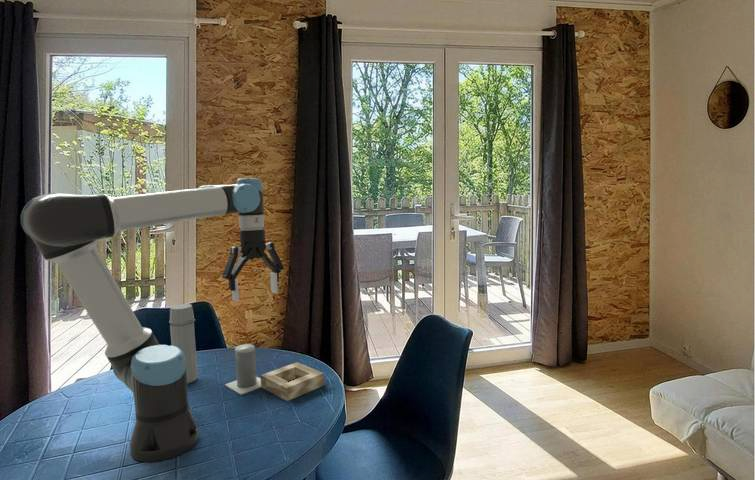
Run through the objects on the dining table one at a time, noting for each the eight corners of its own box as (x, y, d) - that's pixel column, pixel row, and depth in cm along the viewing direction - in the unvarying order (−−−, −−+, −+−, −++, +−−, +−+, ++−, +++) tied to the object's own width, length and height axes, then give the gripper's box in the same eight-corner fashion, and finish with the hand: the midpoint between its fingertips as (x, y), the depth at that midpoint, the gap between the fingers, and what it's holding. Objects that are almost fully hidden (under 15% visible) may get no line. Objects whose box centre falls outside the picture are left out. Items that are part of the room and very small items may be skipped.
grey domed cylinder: (243, 389, 137) (240, 352, 136) (233, 384, 141) (231, 347, 140) (260, 383, 142) (258, 347, 140) (250, 378, 146) (248, 342, 144)
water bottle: (193, 385, 142) (187, 309, 139) (169, 385, 142) (163, 309, 140) (204, 373, 151) (199, 302, 148) (182, 373, 151) (176, 302, 149)
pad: (240, 395, 135) (240, 393, 135) (225, 385, 141) (224, 384, 141) (269, 384, 142) (269, 383, 142) (252, 375, 149) (252, 374, 149)
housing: (287, 401, 130) (286, 388, 130) (261, 387, 140) (260, 375, 139) (324, 385, 140) (323, 373, 140) (297, 373, 150) (297, 362, 149)
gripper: (219, 233, 125) (224, 306, 127) (292, 226, 142) (295, 291, 145) (207, 231, 130) (211, 302, 132) (279, 225, 148) (282, 287, 150)
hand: (255, 296), depth 138 cm, fingers open, 13 cm apart
